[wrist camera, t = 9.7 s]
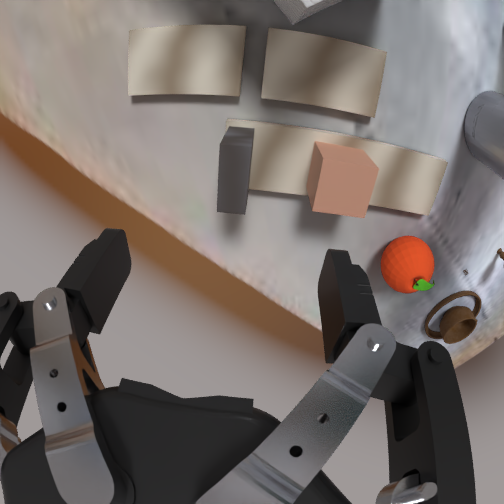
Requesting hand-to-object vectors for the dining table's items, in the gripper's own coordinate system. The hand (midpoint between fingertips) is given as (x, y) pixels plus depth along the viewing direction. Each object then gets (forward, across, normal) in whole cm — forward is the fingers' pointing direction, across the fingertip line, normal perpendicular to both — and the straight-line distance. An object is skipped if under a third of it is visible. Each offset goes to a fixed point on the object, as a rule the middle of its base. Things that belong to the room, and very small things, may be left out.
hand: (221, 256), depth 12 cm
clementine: (+21, -20, +13) cm, 32 cm away
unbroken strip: (+20, -9, +3) cm, 23 cm away
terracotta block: (+19, -8, +3) cm, 21 cm away
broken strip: (+20, 0, -7) cm, 21 cm away
